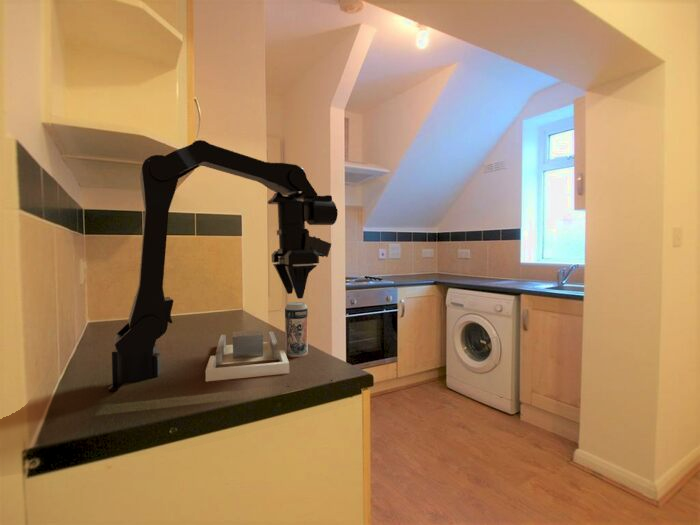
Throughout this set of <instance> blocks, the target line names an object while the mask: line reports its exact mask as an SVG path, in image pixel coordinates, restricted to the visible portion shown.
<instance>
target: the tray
mask: <svg viewBox="0 0 700 525" xmlns="http://www.w3.org/2000/svg"><path fill="white" fill-rule="evenodd" d="M278 360H279V361H278V362H269V363H268V362H267V363H255V364H246V365H232V366H224V367H223V366H222V367H217V365H216V354H215V355H210V357H209V359H208V361H207V362H208V363H207V365H206V368H205V382H214V381H222V380H223V381H225V380H226V381H227V380H233V379H235V380H236V379H244V378H253V377H263V376H264V377H266V376H274V375H285V374H290V361H289V359H288V356H287V355H286V354H285V349H279V359H278Z"/></svg>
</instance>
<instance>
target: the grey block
mask: <svg viewBox="0 0 700 525" xmlns="http://www.w3.org/2000/svg"><path fill="white" fill-rule="evenodd" d="M232 333H233V334H232V345H233V359H238V358H250V357H262V356H263V342H264V333H263V330H262V329H258V330H244V331H243V330H242V331H240V330H239V331H233V332H232Z"/></svg>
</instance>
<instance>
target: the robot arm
mask: <svg viewBox="0 0 700 525" xmlns="http://www.w3.org/2000/svg"><path fill="white" fill-rule="evenodd" d="M199 167H206V168H209V169H212V170H216V171H220V172H223V173H226V174H230V175H233V176H236V177H240V178H243V179H247V180H250V181H253V182H254V181H255V182H258V183H260V184H261V185H263V186H265V187H266V188H268V190H270V191H273V192H275V193H274V194H273V195H272V197H271V198H270V199H268V201H267V204H268V205H277V220H278V221H277V222H278V224H277V226H278V230H276V236H278V244H279V248H277V250H274V251H273V253H272V254H271V263H273V264H272V266H273V267H274V268H275V271H276V273H277V274H278V277H279V279H280V281H281V283H282V285H283V287H284V290H285V291H286V293H287V294H288V295H291V294H293V291H294V293H295V296H296V299H298V300H299V299H303V298H304V294H305V290H306V285H307V281H308V277H309V274H310V272H312V271H313V270H314V269H315V268H316V267H317V266H318V265H317V264H320V257H322V258H325V257H326V258H328V256H329V254H330V250H331V247H332V243H331V242H329V241H325V240H323V239H321V238H320V237H316V236H311V235H310V231H309V230H308V228H306V224H308V225H309V226H334V224H336V222H337V218H338V208H337V204H336V203H335V202H334V201H333V196H332V195H328V194H327V195H318V193H317V191H316V190H315V188H314V187H313V185H312V184H311V182H310V181H309V180H308V178H307V174H306V172H305V170H304V168H303V167H302V166H300V165H298V164H293V163H285V162H269V161H268V162H267V161H265V160H264V161H263V160H260V159H257V158H255V157H252V156H248V155H245V154H243V153H242V154H241V153H239V152H236V151H233V150H230V149H227V148H223V147H221V146H217V145H215V144H212V143H209V142H207V141H206V140H203V139H199V140H198V139H197V140H195V141H193V142H192V143H191V144H189V145H186V146H184V147H182V148H179V149H176V150H174V151H172V152H170V153H168V154H166V155H164V154H163V155H162V154H154V155H151V156H149V157H147V158H146V159H144V161H143V163H142V166H141V169H140V174H139V179H140V188H141V197H142V202H143V209H144V216H143V228H142V240H141V242H142V243H141V253H140V266H139V277H138V278H139V280H138V287H137V290H136V292H135V293H136V294H135V296H134V298H133V301H132V305H131V308H130V312H129V316H128V322H127V323H126V324H125V325H124V326H123V327H121V329H119V330H118V331H117V332H116V333H115V334H114V335H115V336H114V346H115V349H114V350H112V351H111V373H112V374H111V376H112V380H111V382H112V384H111V385H110V386H109V387H108V391H109V392H114V391H116V392H117V391H119V389H120V388H122V386H123V385H124V384H129V383H132V384H133V383H138V382H142V381H146V380H150V379H154V378H155V379H156V378H159V376H160V375H161V374H162V368H161V367H162V363H161V361H162V358H161V356H162V355H161V353H160V352H158V344H156V342H157V340H158V339H160V338H161V337H162V336H164V334H165V333H166V332H167V330H168V326H169V324H173V320H172V317H171V314H172V313H171V312H172V310H173V305H174V299H172V298H171V297H170V296H165V293H164V276H165V274H164V273H165V265H166V264H165V262H166V261H165V260H166V250H167V237H168V226H169V225H168V224H169V212H170V207H171V205H172V202H173V199H174V196H175V193H176V189H177V187H178V184H179V183H178V182H179V179H180V178H182V177H184V176H185V175H187V174H189V173H191V172H192V171H193V172H194V171H195V170H196V169H197V168H199Z"/></svg>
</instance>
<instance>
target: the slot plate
mask: <svg viewBox="0 0 700 525" xmlns="http://www.w3.org/2000/svg"><path fill="white" fill-rule="evenodd" d="M268 334H269V335H268V341H263V356H262V357H250V358H238V359H233V344H227V343H226V342H227V339H226V334H221V335H220V337H219V340H218V343H217V344H218V345H217V346H216V350H215V355H216V366H217V365H218V366H220V365H228V364H229V365H230V364H240V363H241V364H243V363H252V362H253V363H254V362H255V363H256V362H264V361H265V362H266V361H276V360H277V361H278V360H279V350H280V346H279V344H278V341H277V338H276V334H275V332H274V331H269V332H268Z"/></svg>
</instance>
